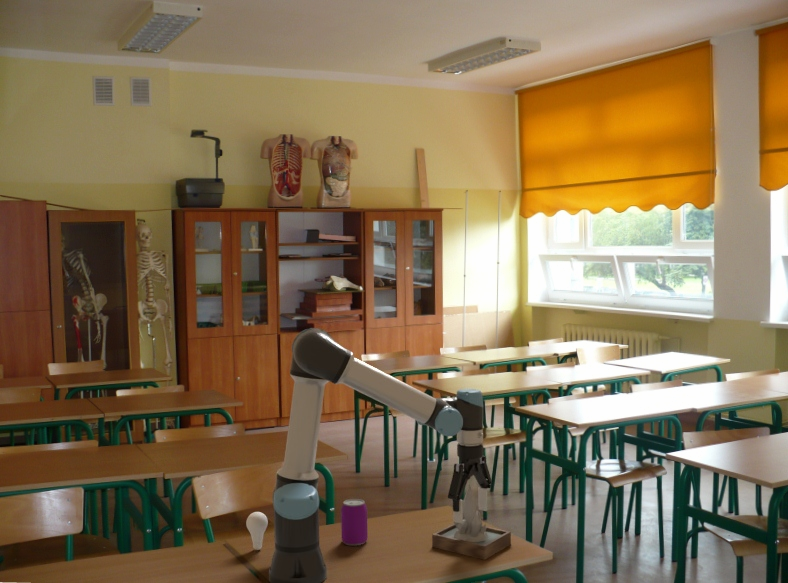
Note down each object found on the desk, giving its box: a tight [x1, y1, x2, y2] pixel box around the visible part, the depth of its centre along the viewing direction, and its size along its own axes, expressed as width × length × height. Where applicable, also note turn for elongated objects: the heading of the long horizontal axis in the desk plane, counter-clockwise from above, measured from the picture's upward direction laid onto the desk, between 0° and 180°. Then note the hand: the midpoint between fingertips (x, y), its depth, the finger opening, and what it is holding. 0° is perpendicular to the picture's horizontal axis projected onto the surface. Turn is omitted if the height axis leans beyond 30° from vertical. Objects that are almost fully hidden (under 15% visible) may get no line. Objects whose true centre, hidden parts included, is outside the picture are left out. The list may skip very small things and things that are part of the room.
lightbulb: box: [245, 511, 269, 551], centre depth 228 cm, size 6×6×11 cm
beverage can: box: [340, 498, 369, 547], centre depth 233 cm, size 8×8×12 cm
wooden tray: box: [431, 523, 512, 561], centre depth 229 cm, size 18×15×4 cm
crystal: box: [453, 483, 488, 542], centre depth 228 cm, size 10×13×15 cm
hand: (470, 516), depth 228 cm, fingers open, 13 cm apart
